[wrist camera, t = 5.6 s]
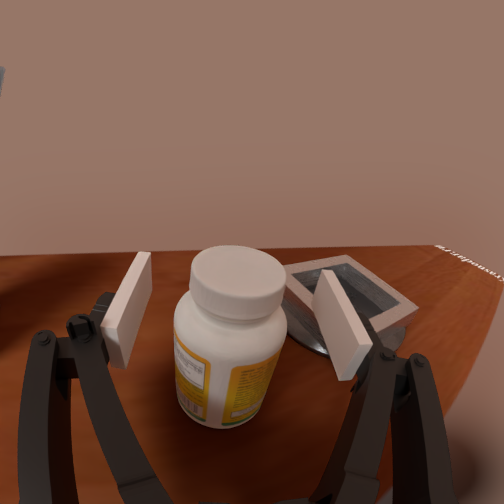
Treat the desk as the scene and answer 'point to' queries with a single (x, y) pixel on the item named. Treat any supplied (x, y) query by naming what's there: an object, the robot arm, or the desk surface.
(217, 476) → the desk surface
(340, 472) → the robot arm
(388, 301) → the socket
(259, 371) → the supplement bottle
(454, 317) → the desk surface
